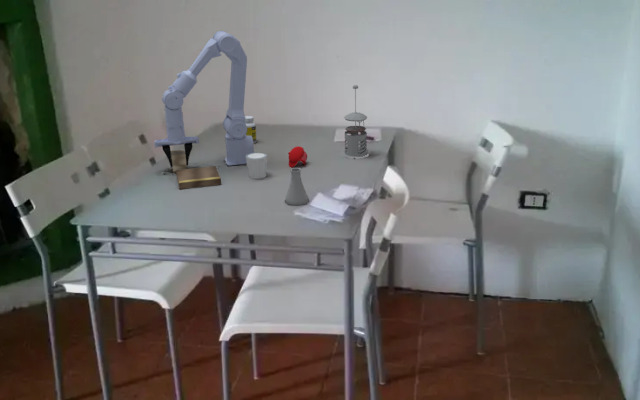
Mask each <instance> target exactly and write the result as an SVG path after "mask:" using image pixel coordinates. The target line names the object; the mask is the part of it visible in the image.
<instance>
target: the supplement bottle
mask: <svg viewBox="0 0 640 400" xmlns="http://www.w3.org/2000/svg"><path fill="white" fill-rule="evenodd" d="M254 119H255V118H254V116H251V115H245V124H246V126H247V133H246V136H252V139H253V144H256V143H257V124H256V122H254V121H255V120H254Z"/></svg>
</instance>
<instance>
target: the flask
mask: <svg viewBox="0 0 640 400" xmlns="http://www.w3.org/2000/svg"><path fill="white" fill-rule="evenodd" d="M289 171H290V173H291V174H290V175H291V176H290V183H289V187H288V189H287V192H286V196H285V199H284V202H285V203H286V204H287V205H288V206H301V205H306V204H308V202H309V200H310V198H309V196H308V194H307V192H306V190H305V187H304V184H303V182H302V177H301V172H302V169H301V167H293V168H290V170H289Z"/></svg>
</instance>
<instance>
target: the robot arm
mask: <svg viewBox="0 0 640 400" xmlns="http://www.w3.org/2000/svg"><path fill="white" fill-rule="evenodd" d="M221 53H223V54H224V55H225V56H226V57H227V58H228V59H229V60H230V61H231V65H230V80H229V81H230V82H229V95H228V108H227V110H226V112H225V113H226V114H225V115H226V116H225V118H224V120H223V122H222V126H223V129H224V130H225V132H226V133H225V136H224V138H225V140H224V141H225V151H226V157H224V160H225V163H226V165H227V166H228V167H229V166H236V165H237V166H238V165H247V161H246V155H248V154H251V153H255V148H254V143H253V139H252V136H246V133H247V126H246V124H245V116H246V114H245V111H244V108H245V94H246V82H247V81H246V79H247V67H248V65H247V64H248V56H247V54H246V53H245V50H244V48H243V46H242V44H241V42H240V40H239V39H238V38H236V36H234V35H233V34H230V33H228V32H226V31H223V30H220V31H217V32H215V33H214V34H213V36H212V37H211V38H210V39H208V41H207V43H206V44H205V45H204V47H203V49H202V50H200V53H199V54H198V55H197V57H196V58H195V60H194V62H193V63H192V64H191V65H190V67H189V69H187V70H183V71H181V72H178V73H177V74H176V76H177V78H176V79H175V80H174V82H172V84H171V85H169V86H168V87H167V88H168V89H167V90H165V91H164V92H163V94H162V97H161V101H162V103H163V104H164V117H165V118H164V119H165V125H166V126H165V127H166V135H167V138H162V139H156V140H153V141H154V142H153V143H154V148H155V149H156V148H160V147H161V148H162V151H163V152H164V154H165V156H166V158H167V160H168V162H169V166H170V168H172V167H173V165H172V159H171V151H172V150H171V147H172V146H180V145H183V147H184V151H185V155H186V165H187V166H189V160H190V155H191V153H192V150H193V144H197V145H198V144H200V137H199V136H186V134H185V131H186V130H185V125H184V124H185V123H184V115H183V109H182V108H183V107H182V106H183V105H184V99H185V98H186V97H187V96H188V95H189V93H190V92H191V91H192V89H193V88H194V87H195V85H196V84H197V83H198V80H197V76H198V75H199V74H200V73H202V71H203V70H204V68H205V67H206V66H207V65H208V63H210V61H211V60H212V59H214V58H219V57H222V54H221Z"/></svg>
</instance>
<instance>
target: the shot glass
mask: <svg viewBox="0 0 640 400" xmlns="http://www.w3.org/2000/svg"><path fill="white" fill-rule="evenodd" d="M246 161H247V164H246V166H247V172H248V177H249V178H250V179H252V180H258V179H260V180H261V179H264V178H267V177H266V176H267V165H268V163H267V161H268V155H267V154H266V153H263V152H254V153H251V154H248V155H246Z"/></svg>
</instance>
